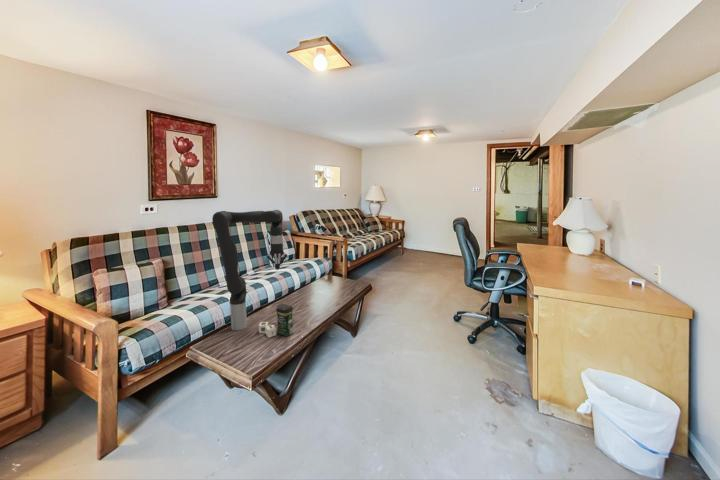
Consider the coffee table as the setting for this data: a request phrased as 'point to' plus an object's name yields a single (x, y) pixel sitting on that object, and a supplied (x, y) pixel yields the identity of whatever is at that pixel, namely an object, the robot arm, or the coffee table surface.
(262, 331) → the marked block
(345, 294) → the coffee table surface
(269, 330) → the marked block
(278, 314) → the coffee jar
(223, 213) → the robot arm
